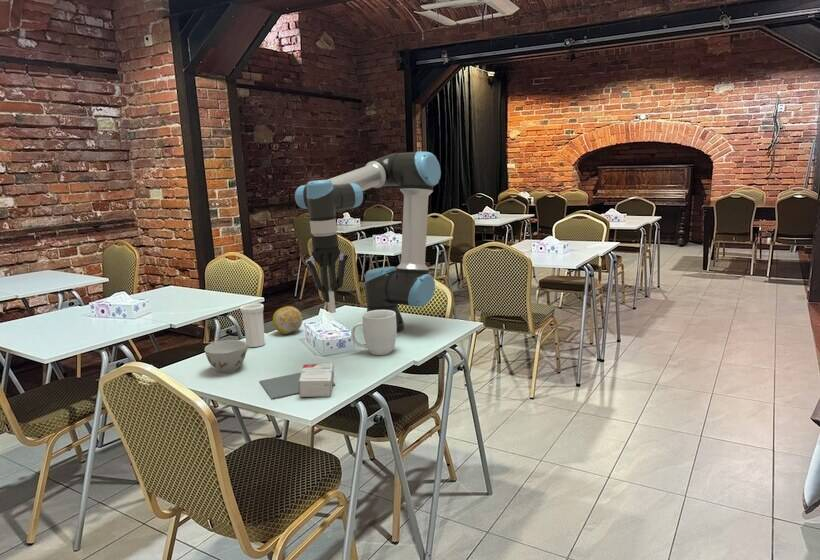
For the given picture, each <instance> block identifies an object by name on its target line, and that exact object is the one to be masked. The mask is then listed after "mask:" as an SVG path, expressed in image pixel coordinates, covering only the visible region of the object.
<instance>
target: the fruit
mask: <svg viewBox="0 0 820 560" xmlns="http://www.w3.org/2000/svg"><path fill="white" fill-rule="evenodd" d="M302 315H303V314H302V313H301V311H300V310H299V309H298V308H296V307H295V306H291V305H289V306H288V305H287V306H284V307H281V308H278V309H277V310H276V311H275V312H274V313H273V316H272V323H273V327H274V328H275V330H276V331H277V332H279V333H280V334H283V335H287V334H291V333H294V332H296V331H298V330H299V329H300V328H301V326H302V324H303V316H302Z"/></svg>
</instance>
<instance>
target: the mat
mask: <svg viewBox="0 0 820 560" xmlns="http://www.w3.org/2000/svg"><path fill="white" fill-rule="evenodd" d="M301 372H302V371H300V372H297V373H291V374H287V375H283V376H276V377H273V378H268V379H261V380H259V384H260V385H261V386H262V387H263V389H264V391H265V392H266V393H267V396H269V398H270V397H271V398H270V399H271V400H272V399H273V400H277V399H282V398H286V397H289V396H290V397H291V396H295V395H296V396H297V395H300V393H299V379H300V375H301ZM335 386H336V383H334V382H333V385H332V387H335ZM276 398H277V399H276Z"/></svg>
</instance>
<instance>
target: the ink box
mask: <svg viewBox="0 0 820 560" xmlns="http://www.w3.org/2000/svg"><path fill="white" fill-rule="evenodd" d="M300 372H301V375H300V379H299V393H300V394H299V397H300V398H301V397H302V398H304V397H305V398H306V397H307V398H308V397H310V398H315V397H317V398H319V397H331V395H332V390H333V389H332V388H333V386H332V385H333V383H334V378H335V376H334V375H335V370H334V363H330V362H329V363H311V364H309V363H308V364H303V366H302V369H301V371H300Z"/></svg>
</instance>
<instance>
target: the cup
mask: <svg viewBox="0 0 820 560" xmlns="http://www.w3.org/2000/svg"><path fill="white" fill-rule="evenodd" d="M264 308H265V306H264V304H263V303H247V304H244V305H241V306H240V307H239V310H240V313H241V314H242V323H243V328H244V336H245V342H246V343H247V345H248V348H256V347H257V348H258V347H262V346H263V345H265V344H266V342H265V327H264Z"/></svg>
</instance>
